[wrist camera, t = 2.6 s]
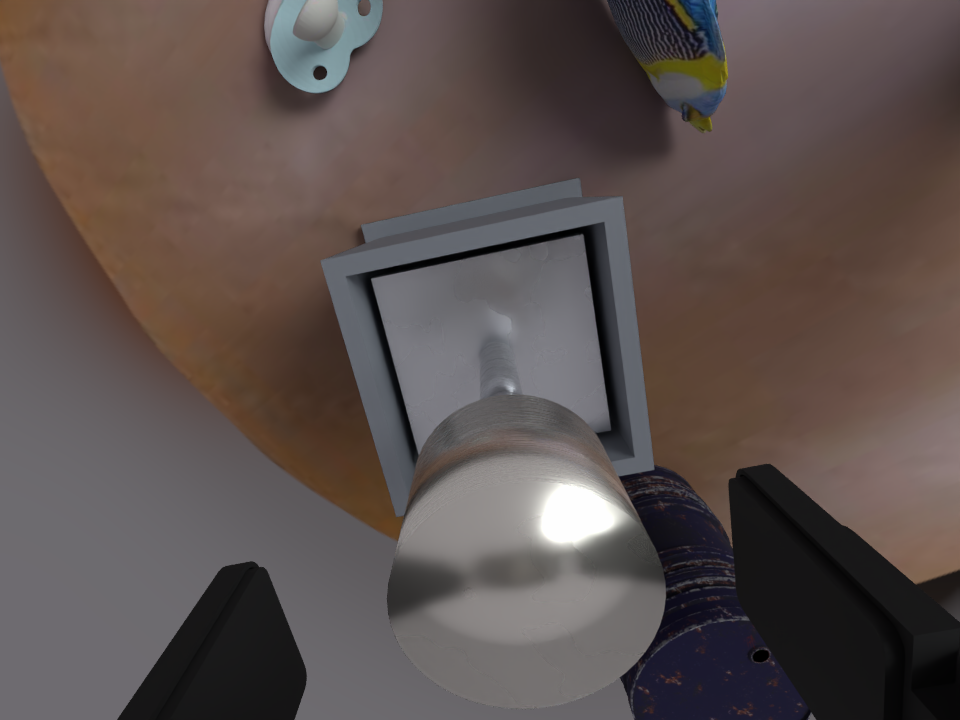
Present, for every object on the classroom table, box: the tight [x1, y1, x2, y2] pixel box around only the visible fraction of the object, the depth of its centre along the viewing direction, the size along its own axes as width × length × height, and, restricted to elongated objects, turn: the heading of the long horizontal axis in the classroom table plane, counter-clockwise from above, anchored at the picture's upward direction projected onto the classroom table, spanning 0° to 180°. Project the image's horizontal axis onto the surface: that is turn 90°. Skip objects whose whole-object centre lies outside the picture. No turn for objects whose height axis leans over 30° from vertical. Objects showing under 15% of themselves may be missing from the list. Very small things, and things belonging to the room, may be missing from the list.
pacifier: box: [264, 0, 383, 93], centre depth 27 cm, size 7×6×6 cm
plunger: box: [371, 233, 666, 709], centre depth 17 cm, size 9×9×16 cm
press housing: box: [321, 178, 655, 517], centre depth 28 cm, size 14×14×14 cm
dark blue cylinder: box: [618, 465, 812, 720], centre depth 33 cm, size 10×10×15 cm
